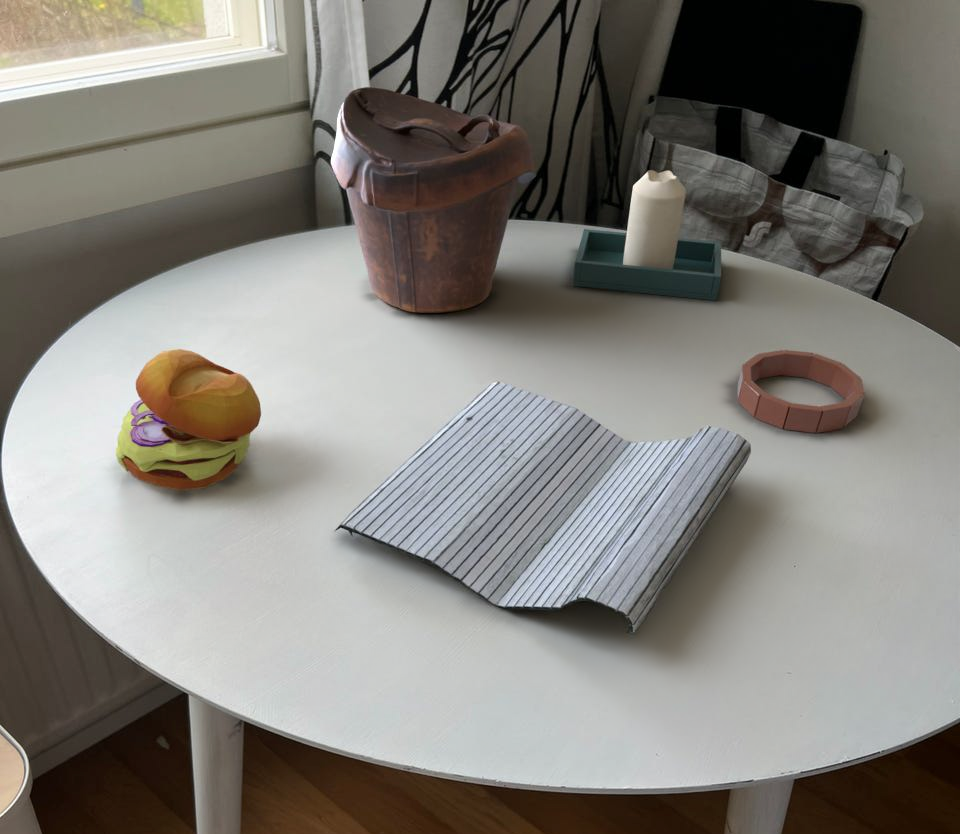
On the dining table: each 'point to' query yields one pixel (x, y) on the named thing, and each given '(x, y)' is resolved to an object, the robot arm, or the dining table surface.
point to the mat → (551, 504)
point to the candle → (654, 220)
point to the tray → (688, 278)
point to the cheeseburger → (187, 422)
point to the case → (428, 195)
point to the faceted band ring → (799, 414)
